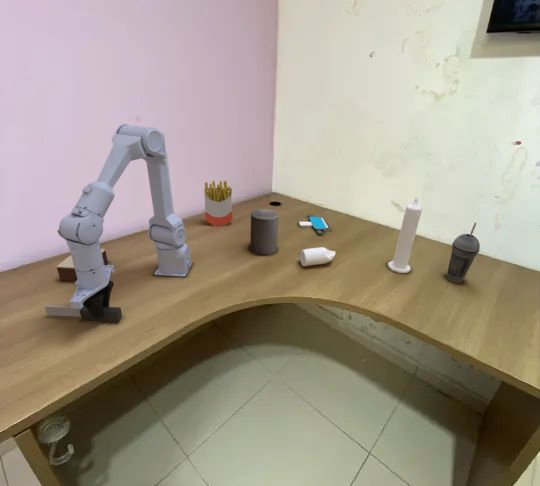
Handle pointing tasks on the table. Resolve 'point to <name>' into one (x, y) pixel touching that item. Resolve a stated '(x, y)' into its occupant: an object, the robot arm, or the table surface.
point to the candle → (406, 238)
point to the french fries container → (218, 203)
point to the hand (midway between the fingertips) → (101, 313)
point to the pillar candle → (264, 231)
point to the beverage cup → (462, 256)
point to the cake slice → (104, 256)
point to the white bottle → (315, 256)
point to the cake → (67, 270)
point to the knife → (86, 313)
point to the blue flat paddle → (316, 224)
